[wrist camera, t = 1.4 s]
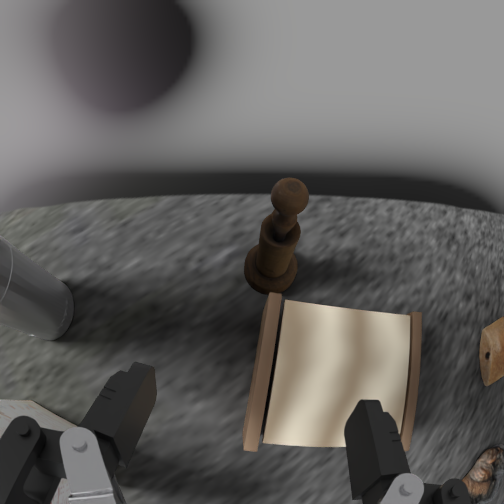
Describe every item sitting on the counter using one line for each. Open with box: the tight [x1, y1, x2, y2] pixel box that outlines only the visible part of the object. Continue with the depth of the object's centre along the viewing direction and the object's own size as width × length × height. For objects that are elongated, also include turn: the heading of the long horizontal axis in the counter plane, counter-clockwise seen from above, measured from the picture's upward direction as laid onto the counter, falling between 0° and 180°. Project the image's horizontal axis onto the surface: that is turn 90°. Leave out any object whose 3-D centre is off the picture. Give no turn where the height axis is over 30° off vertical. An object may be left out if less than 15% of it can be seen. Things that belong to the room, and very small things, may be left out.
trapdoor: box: [262, 300, 410, 447], centre depth 27 cm, size 14×14×6 cm
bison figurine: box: [462, 444, 504, 504], centre depth 21 cm, size 12×7×10 cm
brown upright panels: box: [243, 292, 422, 452], centre depth 28 cm, size 17×16×8 cm
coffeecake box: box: [0, 400, 77, 504], centre depth 17 cm, size 15×7×20 cm, turn 79°
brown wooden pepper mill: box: [244, 178, 309, 295], centre depth 30 cm, size 7×6×18 cm
